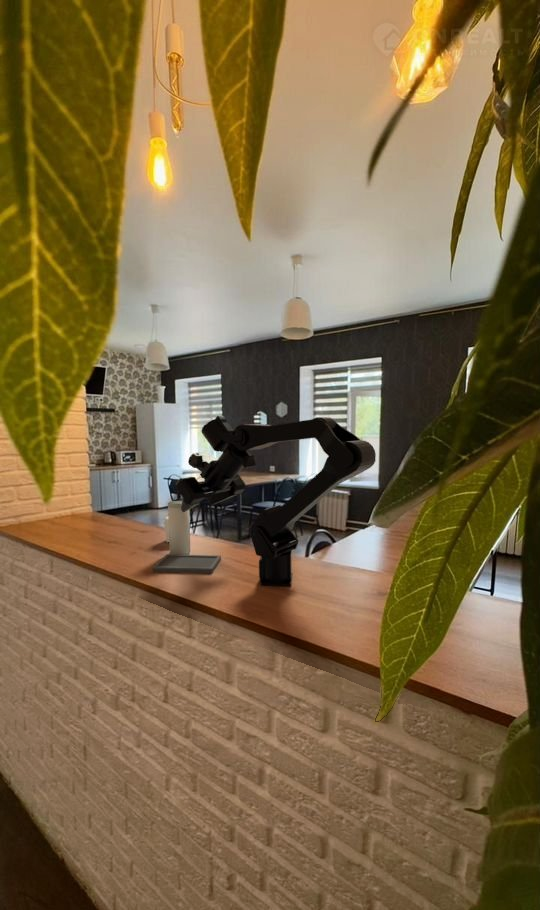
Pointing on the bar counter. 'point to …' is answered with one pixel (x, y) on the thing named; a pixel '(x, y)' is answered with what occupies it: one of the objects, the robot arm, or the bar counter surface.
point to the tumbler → (178, 529)
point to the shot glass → (166, 527)
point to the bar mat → (187, 563)
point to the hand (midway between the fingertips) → (196, 507)
